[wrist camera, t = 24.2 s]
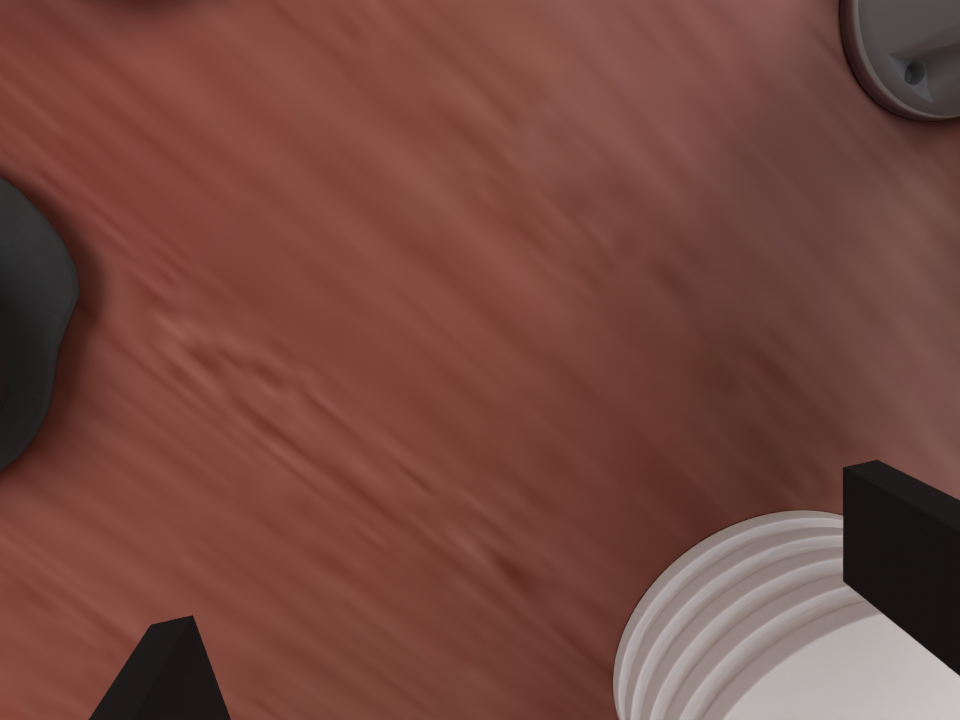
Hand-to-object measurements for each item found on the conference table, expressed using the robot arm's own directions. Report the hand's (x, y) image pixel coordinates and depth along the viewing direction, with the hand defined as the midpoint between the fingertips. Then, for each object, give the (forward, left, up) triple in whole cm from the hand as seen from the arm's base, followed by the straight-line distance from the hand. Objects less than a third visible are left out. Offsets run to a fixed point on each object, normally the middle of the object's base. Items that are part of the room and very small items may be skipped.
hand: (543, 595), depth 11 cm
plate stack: (-22, +33, -27) cm, 48 cm away
